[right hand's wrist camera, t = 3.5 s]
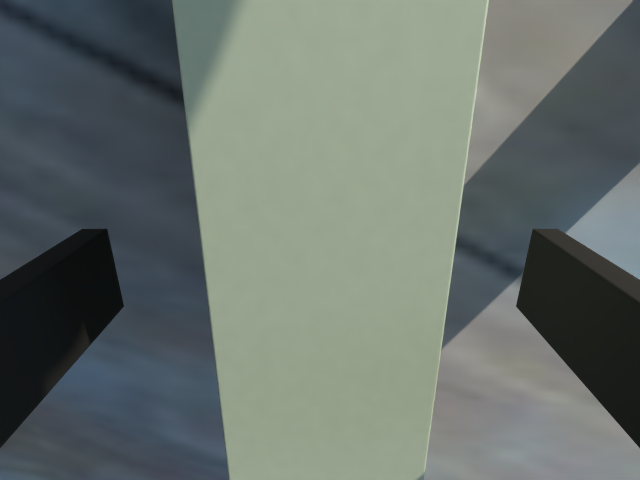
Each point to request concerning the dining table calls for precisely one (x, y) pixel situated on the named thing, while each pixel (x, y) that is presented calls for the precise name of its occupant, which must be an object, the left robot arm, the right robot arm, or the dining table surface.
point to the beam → (328, 220)
